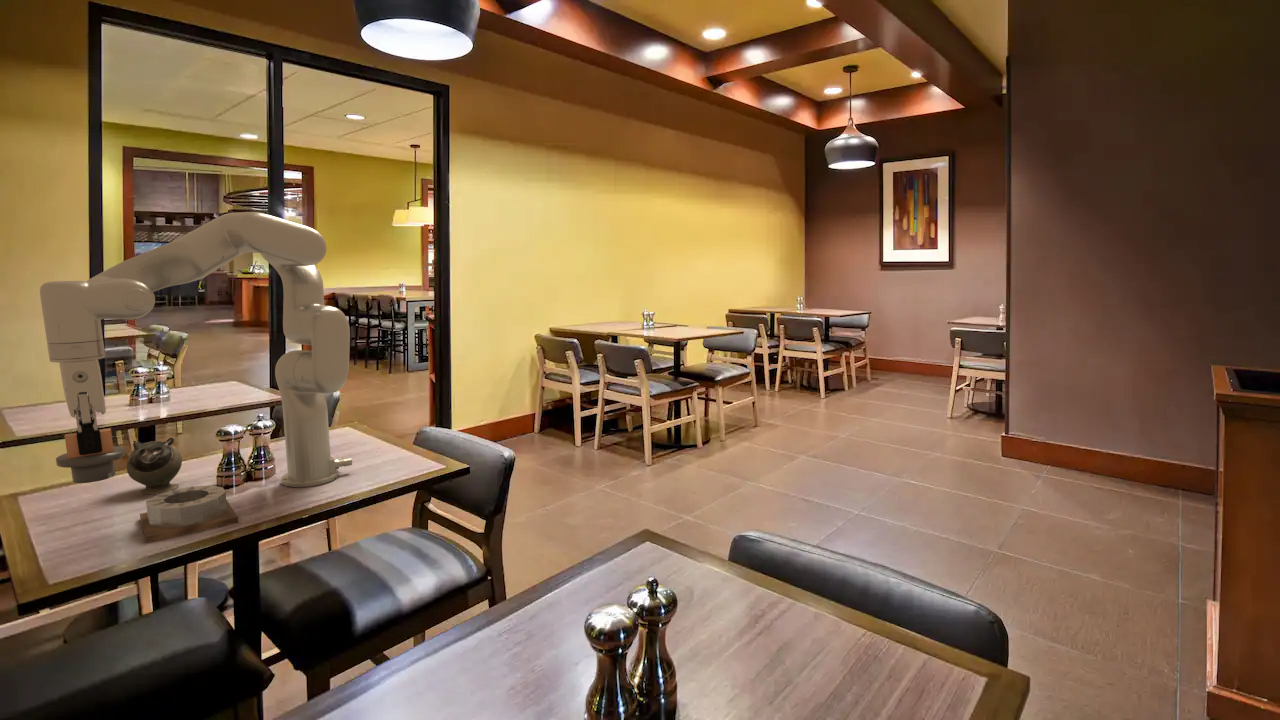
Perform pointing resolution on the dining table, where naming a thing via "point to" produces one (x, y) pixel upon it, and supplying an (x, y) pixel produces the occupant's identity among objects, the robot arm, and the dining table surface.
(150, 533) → the mount plate
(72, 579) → the dining table surface
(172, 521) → the grey stone basin
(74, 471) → the multicoloured piece
